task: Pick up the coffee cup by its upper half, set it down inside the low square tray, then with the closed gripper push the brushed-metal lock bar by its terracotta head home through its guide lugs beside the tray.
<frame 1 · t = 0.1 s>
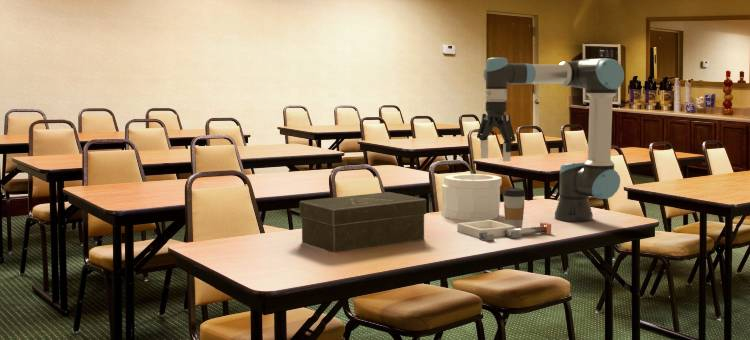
hand: (495, 159, 287), 28 cm above the table, fingers open, 13 cm apart
bar guides: (499, 238, 284), on the table
box: (363, 242, 281), on the table
square tray: (486, 232, 295), on the table
lock bar: (528, 230, 290), point 2 cm above the table, slide at -12.0 cm
container: (471, 215, 334), on the table
coffee cup: (513, 228, 304), on the table
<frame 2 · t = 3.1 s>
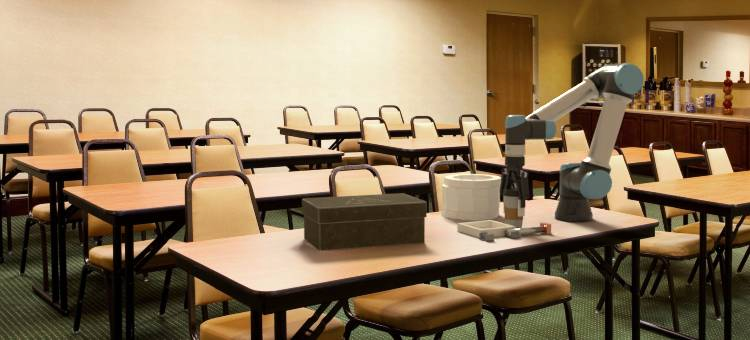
hand: (513, 214, 304), 5 cm above the table, fingers closed on coffee cup, 8 cm apart
coffee cup: (513, 228, 304), on the table, touching gripper
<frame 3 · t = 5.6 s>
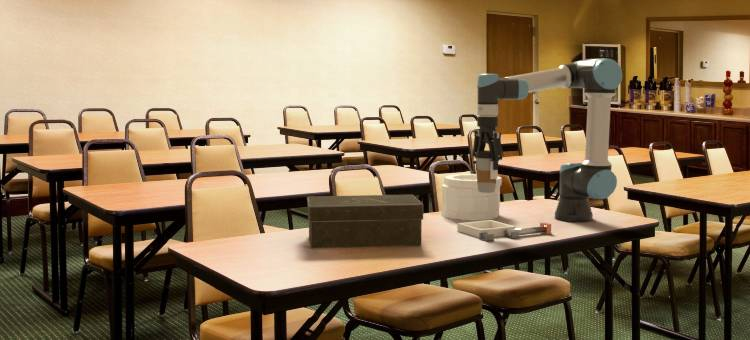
hand: (486, 177, 293), 21 cm above the table, fingers closed on coffee cup, 8 cm apart
coffee cup: (486, 192, 293), point 15 cm above the table, touching gripper
when the fingers open (8 cm above the table, at t = 8.3 s): coffee cup drops 2 cm, resting on square tray.
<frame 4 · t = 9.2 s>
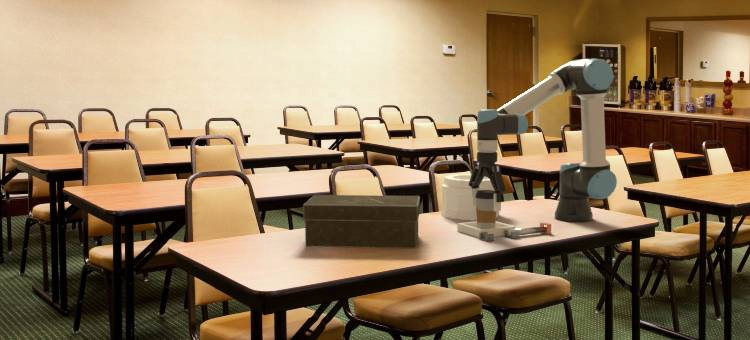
hand: (486, 208, 294), 9 cm above the table, fingers open, 13 cm apart
coffee cup: (486, 231, 295), resting on square tray
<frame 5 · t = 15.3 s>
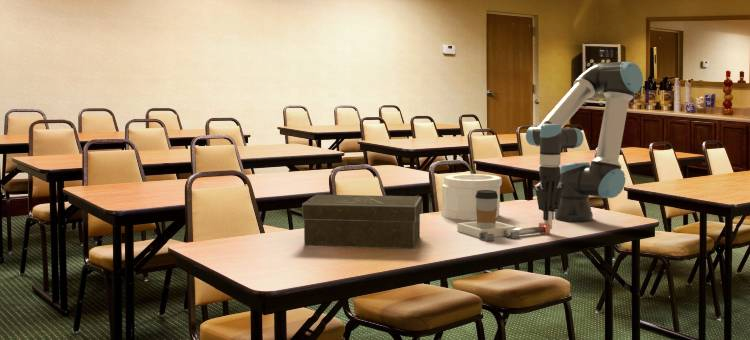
hand: (548, 228, 294), 2 cm above the table, fingers closed
lock bar: (527, 230, 290), point 2 cm above the table, slide at -11.4 cm, touching gripper
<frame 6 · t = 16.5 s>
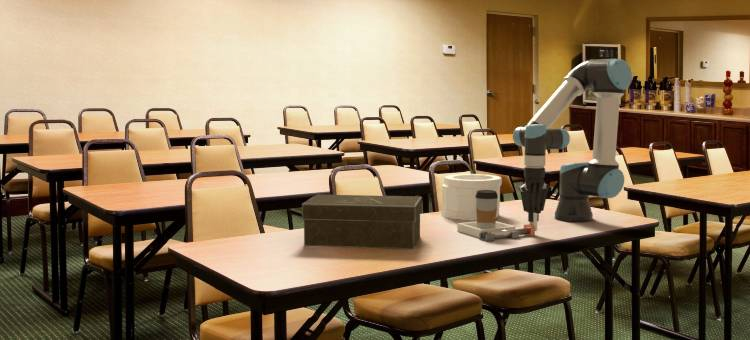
hand: (533, 230, 291), 2 cm above the table, fingers closed
lock bar: (511, 232, 287), point 2 cm above the table, slide at -4.5 cm, touching gripper
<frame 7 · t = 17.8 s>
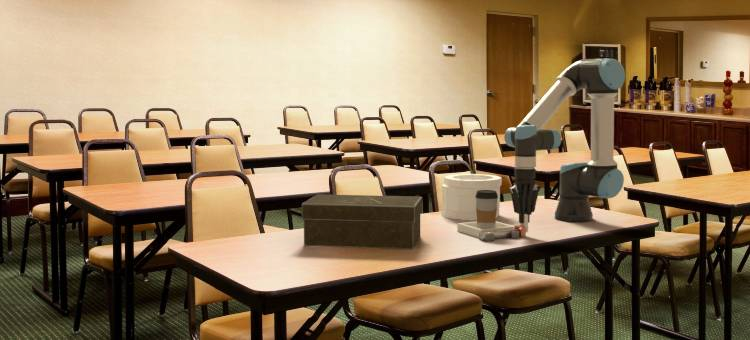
hand: (523, 231, 289), 1 cm above the table, fingers closed
lock bar: (502, 233, 285), point 2 cm above the table, slide at -0.3 cm, touching gripper
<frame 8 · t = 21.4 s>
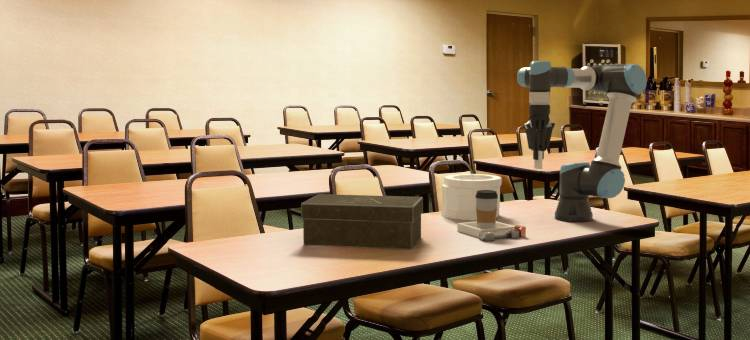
hand: (538, 168, 289), 24 cm above the table, fingers closed
lock bar: (502, 233, 285), point 2 cm above the table, slide at -0.3 cm
at the end: coffee cup 0.0 cm from the square tray (horizontally); coffee cup tilted 0°; lock bar slide at -0.3 cm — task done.
